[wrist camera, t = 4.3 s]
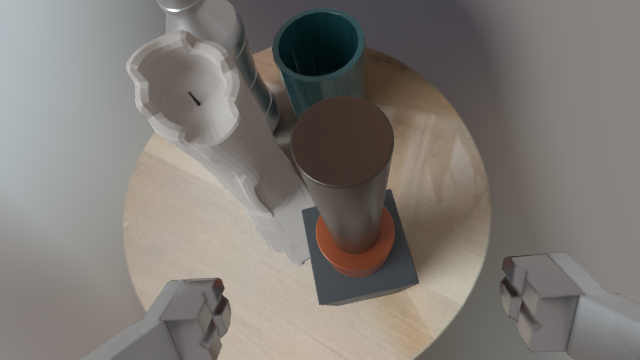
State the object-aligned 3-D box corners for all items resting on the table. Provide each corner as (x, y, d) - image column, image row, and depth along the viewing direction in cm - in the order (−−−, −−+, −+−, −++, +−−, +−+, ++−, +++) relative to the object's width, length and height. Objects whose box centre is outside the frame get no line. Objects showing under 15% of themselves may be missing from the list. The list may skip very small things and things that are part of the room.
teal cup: (355, 65, 42) (352, -2, 33) (372, 124, 39) (375, 67, 30) (287, 82, 43) (266, 20, 34) (300, 142, 40) (279, 91, 30)
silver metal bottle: (234, 152, 40) (121, 20, 22) (231, 105, 43) (129, -50, 24) (286, 142, 40) (217, -1, 21) (281, 95, 42) (215, -70, 24)
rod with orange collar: (379, 206, 21) (401, 50, 8) (397, 269, 20) (457, 199, 7) (318, 220, 22) (247, 89, 9) (332, 284, 20) (269, 243, 7)
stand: (381, 232, 35) (390, 188, 22) (398, 292, 32) (419, 283, 19) (325, 245, 35) (301, 209, 22) (337, 305, 33) (319, 305, 20)
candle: (282, 277, 34) (184, 243, 16) (225, 174, 39) (99, 56, 21) (341, 239, 35) (313, 162, 16) (277, 142, 40) (200, 0, 21)
